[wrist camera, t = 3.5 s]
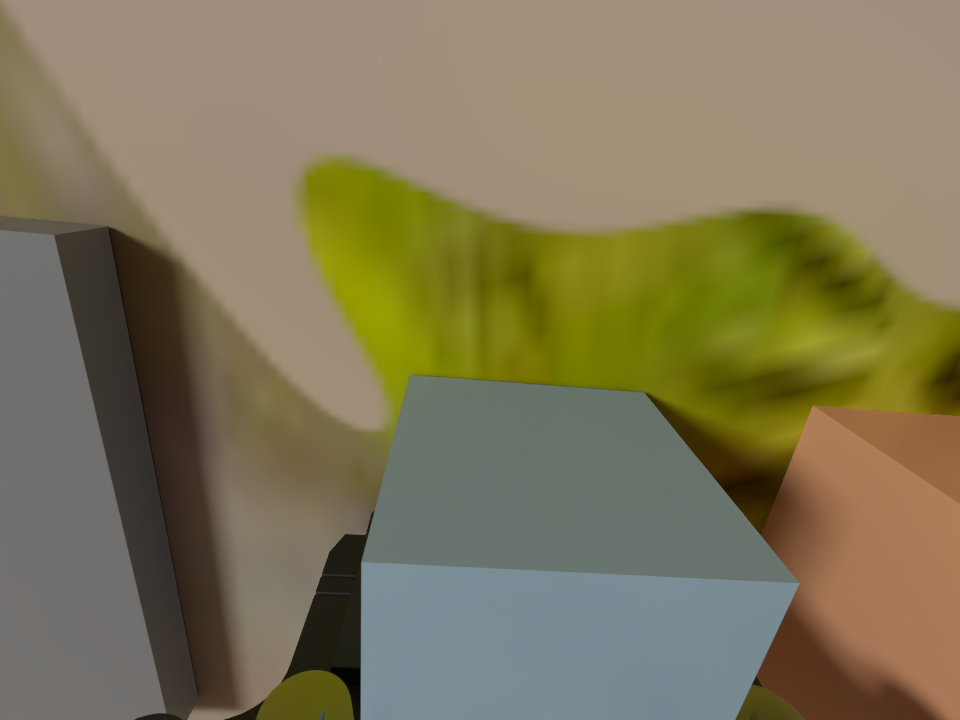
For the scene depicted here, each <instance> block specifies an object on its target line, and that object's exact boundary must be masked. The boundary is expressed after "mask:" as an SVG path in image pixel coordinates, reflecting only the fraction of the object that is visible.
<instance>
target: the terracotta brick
mask: <svg viewBox="0 0 960 720" xmlns="http://www.w3.org/2000/svg"><path fill="white" fill-rule="evenodd" d="M761 536H762V538H763V539H764V540H765V541H766V543H767V544H768V545H769V546H770V547H771V549H772V550H773V551H774V552H775V554H776V555H777V556H778V557H779V559H780V560H781V561H782V562H783V563H784V565H785V566H786V567H787V568H788V570H789V571H790V572H791V573H792V574H793V576H794V577H795V578H796V579H797V581H798V582H799V583H800V584H799V586H798V588H797V590H796V592H795V594H794V596H793V599H792V601H791V603H790V605H789V607H788V609H787V611H786V613H785V616H784V618H783V620H782V622H781V624H780V626H779V628H778V630H777V632H776V635H775V637H774V639H773V641H772V643H771V645H770V647H769V649H768V651H767V654H766V656H765V658H764V660H763V662H762V664H761V666H760V668H759V671H758V673H757V675H756V676H757V678H758V680H759V682H760V683H761V685H762V686H763V688H765V689H768V690H770V691H772V692H774V693H775V694H777V695H779V696H780V697H782V698H783V699H785V700H786V701H787V702H788V703H790V704H791V705H792V706H793V707H794V708H795V709H796V710H797V711H798V712H799V713H800V714H801V715H802V716H803V717H804V719H805V720H960V416H950V415H936V414H922V413H908V412H894V411H880V410H866V409H852V408H839V407H825V406H813V407H812V410H811V412H810V415H809V417H808V420H807V422H806V425H805V427H804V430H803V432H802V434H801V437H800V439H799V442H798V444H797V447H796V449H795V452H794V454H793V457H792V459H791V462H790V464H789V467H788V469H787V471H786V474H785V476H784V479H783V481H782V484H781V486H780V489H779V491H778V494H777V496H776V499H775V501H774V504H773V506H772V508H771V511H770V513H769V516H768V518H767V521H766V523H765V526H764V528H763V531H762V533H761Z"/></svg>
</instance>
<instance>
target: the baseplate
mask: <svg viewBox="0 0 960 720" xmlns="http://www.w3.org/2000/svg"><path fill="white" fill-rule="evenodd" d="M197 699H198V694H197V689H196V683H195V678H194V673H193V668H192V663H191V657H190V652H189V647H188V642H187V636H186V631H185V626H184V621H183V616H182V610H181V605H180V600H179V595H178V590H177V584H176V579H175V574H174V569H173V563H172V558H171V553H170V548H169V543H168V537H167V532H166V527H165V522H164V517H163V511H162V506H161V501H160V496H159V491H158V485H157V480H156V475H155V470H154V464H153V459H152V454H151V449H150V444H149V438H148V433H147V428H146V423H145V418H144V412H143V407H142V402H141V397H140V392H139V386H138V381H137V376H136V371H135V365H134V360H133V355H132V350H131V345H130V339H129V334H128V329H127V324H126V319H125V313H124V308H123V303H122V298H121V292H120V287H119V282H118V277H117V272H116V266H115V261H114V256H113V251H112V246H111V240H110V235H109V230H108V226H97V225H86V224H76V223H65V222H54V221H44V220H33V219H22V218H11V217H1V216H0V720H134V719H137V718H139V717H142V716H146V715H150V714H156V713H167V714H172V715H175V716H177V717H179V718H181V719H182V720H187V719H188V717H189V715H190V713H191V711H192V709H193V707H194V705H195V703H196V701H197Z"/></svg>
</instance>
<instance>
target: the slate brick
mask: <svg viewBox="0 0 960 720" xmlns="http://www.w3.org/2000/svg"><path fill="white" fill-rule="evenodd" d="M799 584H800V583H799V582H798V581H797V579H796V578H795V577H794V576H793V574H792V573H791V572H790V571H789V570H788V568H787V567H786V566H785V565H784V563H783V562H782V561H781V560H780V559H779V557H778V556H777V555H776V554H775V552H774V551H773V550H772V549H771V547H770V546H769V545H768V544H767V543H766V541H765V540H764V539H763V538H762V536H761V535H760V534H759V533H758V532H757V530H756V529H755V528H754V527H753V525H752V524H751V523H750V522H749V520H748V519H747V518H746V517H745V516H744V514H743V513H742V512H741V511H740V509H739V508H738V507H737V506H736V505H735V503H734V502H733V501H732V500H731V498H730V497H729V496H728V495H727V493H726V492H725V491H724V490H723V489H722V487H721V486H720V485H719V484H718V482H717V481H716V480H715V479H714V478H713V476H712V475H711V474H710V473H709V471H708V470H707V469H706V468H705V466H704V465H703V464H702V463H701V462H700V460H699V459H698V458H697V457H696V455H695V454H694V453H693V452H692V451H691V449H690V448H689V447H688V446H687V444H686V443H685V442H684V441H683V439H682V438H681V437H680V436H679V435H678V433H677V432H676V431H675V430H674V428H673V427H672V426H671V425H670V424H669V422H668V421H667V420H666V419H665V417H664V416H663V415H662V414H661V412H660V411H659V410H658V409H657V408H656V406H655V405H654V404H653V403H652V401H651V400H650V399H649V398H648V397H647V395H646V394H645V393H644V392H631V391H618V390H605V389H592V388H579V387H565V386H552V385H539V384H526V383H513V382H499V381H486V380H473V379H460V378H447V377H433V376H420V375H410V377H409V381H408V385H407V389H406V393H405V396H404V400H403V404H402V408H401V412H400V416H399V419H398V423H397V427H396V431H395V435H394V439H393V442H392V446H391V450H390V454H389V458H388V462H387V466H386V469H385V473H384V477H383V481H382V485H381V489H380V492H379V496H378V500H377V504H376V508H375V512H374V515H373V519H372V523H371V527H370V531H369V535H368V539H367V542H366V546H365V550H364V554H363V558H362V562H361V720H735V719H736V717H737V715H738V713H739V711H740V709H741V706H742V704H743V702H744V700H745V698H746V696H747V694H748V692H749V690H750V687H751V685H752V683H753V681H754V679H755V677H756V675H757V673H758V671H759V668H760V666H761V664H762V662H763V660H764V658H765V656H766V654H767V651H768V649H769V647H770V645H771V643H772V641H773V639H774V637H775V635H776V632H777V630H778V628H779V626H780V624H781V622H782V620H783V618H784V616H785V613H786V611H787V609H788V607H789V605H790V603H791V601H792V599H793V596H794V594H795V592H796V590H797V588H798V586H799Z"/></svg>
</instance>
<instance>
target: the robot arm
mask: <svg viewBox="0 0 960 720" xmlns="http://www.w3.org/2000/svg"><path fill="white" fill-rule="evenodd" d="M374 512H375V511H373V512H372V514H371V518H370V522H369V525H368V529H367V533H366V535H351V534H345V535H344V537H343V538H342V539H341V540H340V541H339V542H338V543H337V544H336V545H335V546H334V548H333V549H332V550H331V551H330V552H329V555H328V558H327V561H326V564H325V567H324V570H323V572H322V577H321V578H320V581H319V584H318V587H317V590H316V595H314V598H313V601H312V604H311V607H310V610H309V613H308V615H307V618H306V621H305V624H304V627H303V630H302V633H301V636H300V638H299V641H298V644H297V647H296V650H295V653H294V656H293V658H292V661H291V664H290V667H289V669H288V671H287V673H286V675H285V677H284V679H283V680H282V682H281V683H280V684H279V685H278V686H277V687H276V688H275V689H274V690H273V691H272V692H271V693H270V694H269V695H268V697H267V698H266V699H265V700H264V701H262V702H261V703H260V704H258V705H257V706H255V707H254V708H252V709H250V710H248V711H246V712H244V713H242V714H239V715H237V716H234V717H231V718H228V719H225V720H361V562H362V558H363V554H364V550H365V546H366V542H367V539H368V535H369V531H370V527H371V523H372V519H373V515H374ZM134 720H182V719H181V718H179V717H177V716H175V715H172V714H167V713H156V714H150V715H146V716H142V717H139V718H137V719H134ZM735 720H805V719H804V717H803V716H802V715H801V714H800V713H799V712H798V711H797V710H796V709H795V708H794V707H793V706H792V705H791V704H790V703H788V702H787V701H786V700H785V699H783V698H782V697H780V696H779V695H777V694H775V693H774V692H772V691H770V690H768V689H765V688H763V686H762V685H761V683H760V682H759V680H758V678H757V676H756V677H755V679H754V681H753V683H752V685H751V687H750V690H749V692H748V694H747V696H746V698H745V700H744V702H743V704H742V706H741V709H740V711H739V713H738V715H737V717H736V719H735Z"/></svg>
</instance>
